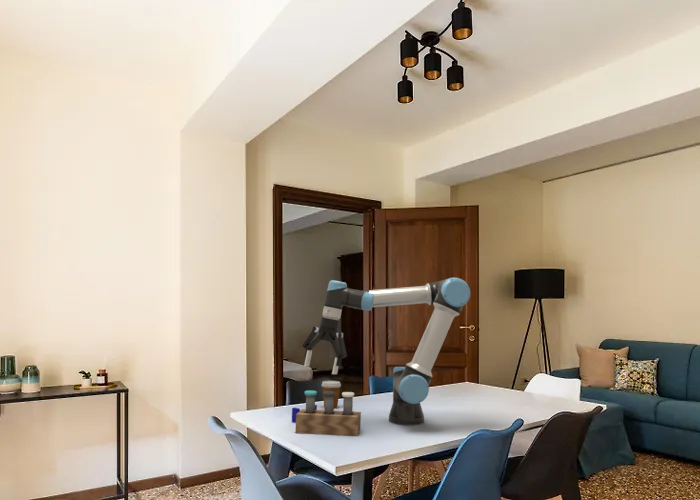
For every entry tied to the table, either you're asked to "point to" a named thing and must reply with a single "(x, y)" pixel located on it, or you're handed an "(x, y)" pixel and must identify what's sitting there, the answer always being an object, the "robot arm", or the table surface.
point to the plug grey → (347, 402)
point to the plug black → (329, 402)
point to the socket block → (328, 423)
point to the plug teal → (310, 401)
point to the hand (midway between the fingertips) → (320, 370)
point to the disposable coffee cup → (332, 387)
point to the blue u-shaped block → (295, 411)
